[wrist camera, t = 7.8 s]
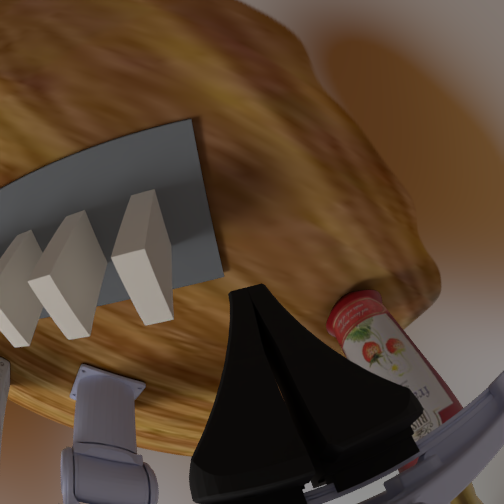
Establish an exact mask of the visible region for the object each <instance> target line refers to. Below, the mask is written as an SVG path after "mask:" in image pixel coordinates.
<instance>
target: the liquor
mask: <svg viewBox="0 0 504 504" xmlns="http://www.w3.org/2000/svg"><path fill="white" fill-rule="evenodd" d="M326 328H327V331H328V333H329V334H330V335H332V336H334V337H336V339H337V340H338V342H339V344H340V346H341V348H342V350H343V352H344V354H345V356H346V357H347V359H348V360H350V361H352V362H354V363H355V364H357V365H359V366H361V367H363V368H364V369H366V370H368V371H370V372H372V373H374V374H376V375H378V376H380V377H382V378H385V379H387V380H389V381H392V382H394V383H397V384H399V385H402V386H405V387H407V388H409V389H410V390H411V391H412V393H413V394H414V395H415V396H416V397H417V399H418V400H419V402H420V403H421V405H422V407H423V408H424V410H423V414H422V415H421V416H420V417H419V418H418V419H417V420H416V421H415V422H414V423H413V424H412V425H411V427H412V429H413V431H414V434H413V435H412V437H413V439H414V441H415V442H416V441H418V440H419V439H421V438H423V437H424V436H426V435H427V434H429V433H430V432H432V431H433V430H435V429H436V428H438V427H439V426H440V425H442V424H443V423H445V422H446V421H447V420H449V419H450V418H452V417H453V416H454V415H455V414H457V413H458V412H459V411H461V410H462V409H463V407H462V405H461V404H460V403H459V401H458V400H457V398H456V397H455V395H454V394H453V393H452V391H451V390H450V388H449V387H448V385H447V384H446V383H445V382H444V380H443V379H442V378H441V376H440V375H439V374H438V373H437V371H436V370H435V369H434V368H433V367H432V365H431V364H430V363H429V362H428V360H427V359H426V358H425V357H424V355H423V354H422V353H421V352H420V350H419V349H418V348H417V347H416V345H415V344H414V343H413V341H412V340H411V339H410V338H409V336H408V335H407V334H406V333H405V332H404V330H403V329H402V328H401V327H400V325H399V324H398V323H397V321H396V320H395V319H394V318H393V316H392V315H391V314H390V313H389V312H388V310H387V309H386V308H385V307H384V305H383V304H382V297H381V295H380V293H379V292H377V291H375V290H362V291H355V292H351V293H349V294H347V295H345V296H344V297H342V298H341V299H340V300H339V301H338V302H337V303H336V304H335V305H334V307H333V309H332V311H331V313H330V316H329V318H328V320H327V324H326ZM418 458H419V457H418ZM418 458H416V459H414V460H413V461H411V462H409V463H408V464H406V465H404V466H403V467H401V468H399V469H398V471H399V473H401V472H403V471H405V470H407V469H409V468H410V467H412V466H414V465H416V464H417V461H418ZM450 503H451V504H483V503H482V501H481V500H480V499H479V498H478V497H477V496H476V494H475V490H474V487H473V484H472V482H471V483H470V484H469V485H468V486H467V487H466V488H465V489H464V490H463V491H462V492H461V493H460V494H459V495H458V496H457V497H456V498H454V499H453V500H452V501H451V502H450Z"/></svg>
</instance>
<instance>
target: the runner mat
mask: <svg viewBox="0 0 504 504" xmlns="http://www.w3.org/2000/svg"><path fill="white" fill-rule="evenodd" d="M153 189H155V192H156V196H157V200H158V203H159V207H160V210H161V213H162V217H163V220H164V224H165V227H166V230H167V233H168V237H169V240H170V243H171V251H172V289H175V288H179V287H184V286H188V285H192V284H196V283H200V282H205V281H209V280H213V279H217V278H221V277H224V273H223V269H222V265H221V260H220V256H219V252H218V247H217V243H216V238H215V234H214V229H213V225H212V220H211V216H210V211H209V206H208V201H207V197H206V192H205V187H204V182H203V177H202V172H201V167H200V162H199V157H198V152H197V147H196V142H195V136H194V131H193V126H192V120H191V119H186V120H182V121H177V122H173V123H169V124H165V125H161V126H157V127H154V128H150V129H146V130H143V131H139V132H136V133H133V134H129V135H126V136H123V137H120V138H117V139H113V140H110V141H108V142H105V143H102V144H99V145H96V146H93V147H91V148H88V149H85V150H83V151H80V152H77V153H75V154H72V155H70V156H67V157H65V158H62V159H60V160H58V161H55V162H53V163H51V164H49V165H46V166H44V167H42V168H40V169H38V170H35V171H33V172H31V173H29V174H27V175H25V176H23V177H21V178H19V179H17V180H15V181H13V182H11V183H10V184H8V185H6V186H4V187H2V188H0V258H1V257H2V255H3V254H4V252H5V251H6V250H7V248H8V247H9V245H10V244H11V243H12V241H13V240H14V239H15V237H16V236H17V235H19V234H21V233H24V232H26V231H29V230H32V232H33V234H34V236H35V238H36V241H37V243H38V245H39V247H40V248H41V250H42V252H44V250H45V249H46V247H47V245H48V244H49V242H50V240H51V239H52V237H53V236H54V234H55V232H56V231H57V229H58V228H59V226H60V225H61V223H62V222H63V220H64V219H65V217H66V216H69V215H71V214H74V213H77V212H80V211H83V210H85V211H86V214H87V216H88V219H89V221H90V224H91V226H92V229H93V231H94V233H95V236H96V238H97V240H98V243H99V245H100V247H101V249H102V252H103V254H104V256H105V258H106V260H107V262H108V263H107V266H106V270H105V274H104V277H103V281H102V285H101V289H100V293H99V297H98V301H97V306H101V305H105V304H110V303H114V302H119V301H123V300H128V299H131V298H130V296H129V294H128V292H127V290H126V288H125V286H124V284H123V282H122V280H121V278H120V276H119V274H118V272H117V270H116V268H115V266H114V263H113V261H112V259H111V255H112V252H113V248H114V245H115V242H116V238H117V235H118V232H119V229H120V226H121V223H122V220H123V217H124V214H125V211H126V208H127V205H128V203H129V200H130V197H131V195H134V194H138V193H141V192H145V191H149V190H153ZM45 317H50V315H49V313H48V312H47V311H46V309H45V308H44V306H43V309H42V312H41V314H40V317H39V319H40V318H45Z"/></svg>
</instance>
